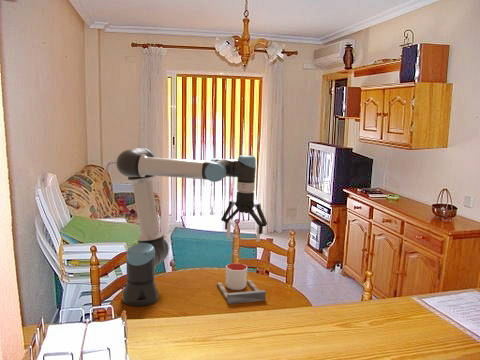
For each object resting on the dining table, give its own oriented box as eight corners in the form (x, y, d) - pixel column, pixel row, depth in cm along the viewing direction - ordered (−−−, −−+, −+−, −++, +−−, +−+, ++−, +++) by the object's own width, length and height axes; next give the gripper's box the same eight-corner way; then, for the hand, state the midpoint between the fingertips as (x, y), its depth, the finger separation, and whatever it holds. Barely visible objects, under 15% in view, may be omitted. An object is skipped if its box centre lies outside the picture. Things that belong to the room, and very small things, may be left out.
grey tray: (217, 285, 197) (217, 277, 197) (250, 282, 202) (251, 274, 202) (228, 304, 178) (228, 295, 178) (265, 300, 183) (265, 291, 183)
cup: (227, 281, 202) (228, 262, 201) (247, 283, 201) (248, 264, 200) (223, 290, 193) (224, 269, 191) (244, 292, 191) (245, 271, 190)
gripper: (215, 189, 178) (213, 237, 182) (271, 195, 171) (268, 245, 174) (221, 187, 185) (219, 233, 189) (275, 192, 178) (272, 240, 182)
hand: (243, 239), depth 182 cm, fingers open, 13 cm apart
